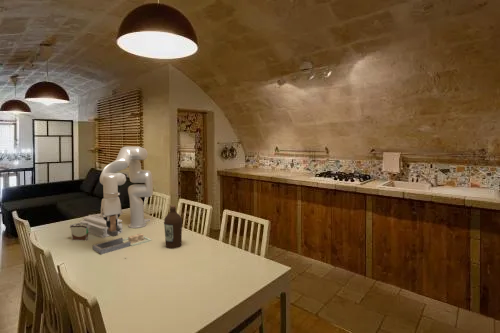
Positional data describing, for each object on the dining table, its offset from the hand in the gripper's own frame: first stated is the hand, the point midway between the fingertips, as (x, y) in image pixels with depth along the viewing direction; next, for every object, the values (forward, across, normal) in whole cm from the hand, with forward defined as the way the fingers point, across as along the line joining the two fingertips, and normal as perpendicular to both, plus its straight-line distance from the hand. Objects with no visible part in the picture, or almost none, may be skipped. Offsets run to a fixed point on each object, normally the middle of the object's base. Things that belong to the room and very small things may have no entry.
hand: (112, 226), depth 166 cm
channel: (+14, 0, 0) cm, 14 cm away
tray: (+14, -15, 0) cm, 20 cm away
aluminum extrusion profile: (+15, -10, -42) cm, 45 cm away
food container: (+14, +5, -34) cm, 37 cm away
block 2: (+13, -17, 0) cm, 21 cm away
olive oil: (+14, -27, +22) cm, 38 cm away
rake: (+5, 0, 0) cm, 5 cm away
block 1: (+13, -12, 0) cm, 18 cm away
